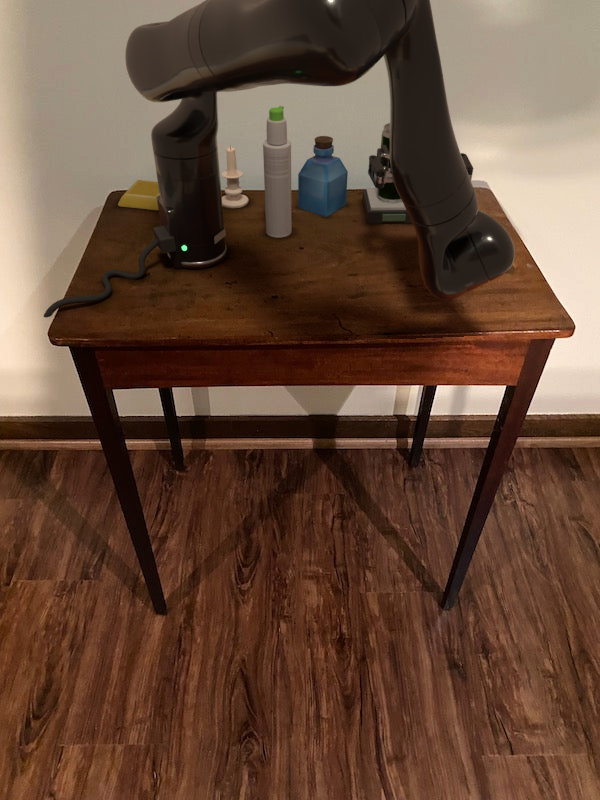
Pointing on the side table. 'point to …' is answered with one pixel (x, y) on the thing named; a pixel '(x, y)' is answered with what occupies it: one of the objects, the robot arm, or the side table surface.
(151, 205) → the yellow flat block
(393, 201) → the beer can
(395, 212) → the kitchen scale
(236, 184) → the candle
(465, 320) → the side table surface
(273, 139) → the bottle
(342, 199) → the perfume bottle
